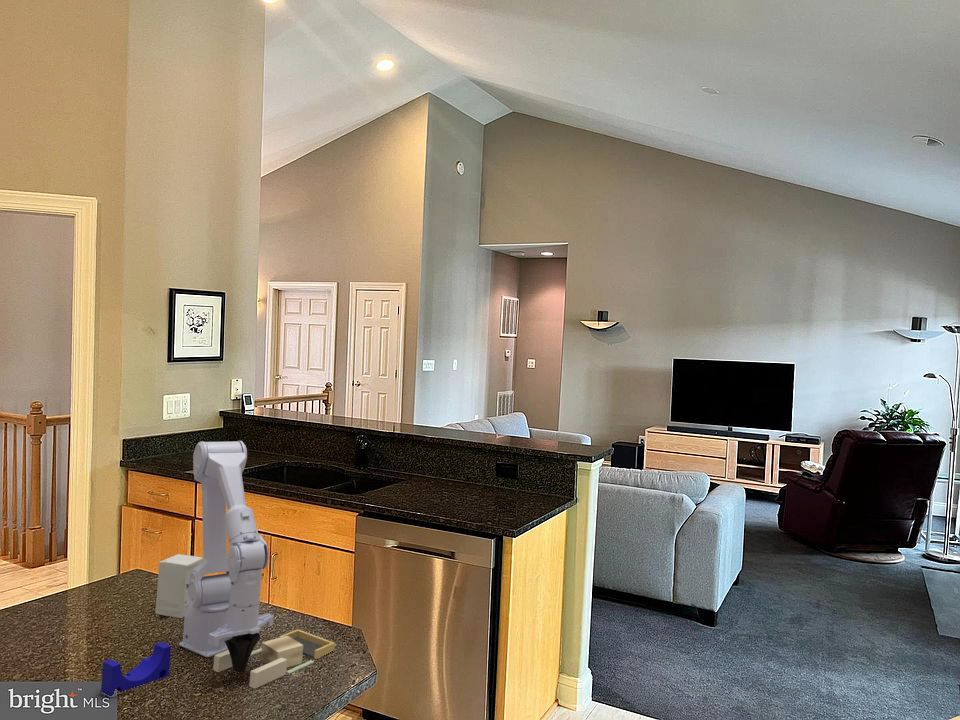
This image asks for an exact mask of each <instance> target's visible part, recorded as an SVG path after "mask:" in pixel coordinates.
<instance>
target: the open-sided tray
mask: <svg viewBox="0 0 960 720" xmlns="http://www.w3.org/2000/svg"><path fill="white" fill-rule="evenodd" d="M285 636H289V637H291V638H292V639H294V640H296V641H297V642H299V643H301V644H302V645H303V656H306V657H309V658H312V659H315V660H317V659H319V658H322V657H325V656H327V655H328V653H329V654H331V653H332V652H331V651H333V650H334V651H335V646H336V643H335V642H333V641H331V640H328V639H325V638H323V637H321V636H318V635H314V634H311V633H309V632H306V631H304V630H301V629H294V630H292V631H290V632H288V633H284V634H282V635H280V636H279V637H278V638H281V637H285ZM334 651H333V652H334ZM330 652H331V653H330ZM326 654H327V655H326ZM324 655H325V656H324Z"/></svg>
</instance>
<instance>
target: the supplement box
mask: <svg viewBox="0 0 960 720" xmlns="http://www.w3.org/2000/svg"><path fill="white" fill-rule="evenodd" d="M202 561H203V557H200V556H195V555H188V554H179V553H178V554H174V555H173V556H170V557H168V558H165V559H163V560H161V561H159V564H158V576H157V588H156V601H155V610H154V611H155V612H154V614H155V615H161V616H166V617H171V618H177V619H184V618H185V613H186V611H187V609H188V607H189V606H190V605H191V604H190V602H189V598H188V586H189V581H190V572H191V571H192V570H193V569H194V568H195V567H196V566H197V565H198V564H199V563H201V562H202Z"/></svg>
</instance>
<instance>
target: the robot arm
mask: <svg viewBox="0 0 960 720" xmlns="http://www.w3.org/2000/svg"><path fill="white" fill-rule="evenodd" d="M192 459H193V461H192V463H193V464H192V466H193V467H192V469H193V477H194V481H196V482H198V483H200V487H201V505H202V507H201V509H202V511H201V512H202V513H201V514H202V517H201V518H202V552H203V553H202V555H203V557H202V558H203V561H202V562H201V563H199V564H198V565H197V566H196V567H195V568H194V569H193V570H192V571H191V572H190V581H189V586H188V598H189V602H190V604H191V605H190V606H189V607H188V609H187V611H186V613H185V616H184V617H183V635H182V641H181V642H179V643H178V645H179V646H180V647H183V648H184V649H186V650H189V651H191V652H192V653H195V654H198V655H200V656H202V657H205V658H210V657H211V658H212V657H213V656H214V655H216V654H219V653H222V652H224V651H227V650H229V653H230V656H231V661H232V666H233V667H232V671H234V672H237V673H239V674H241V673H244V672H245V671H246V669H247V666H248V663H249V658H250V659H251V656H250V655H251V653H252V652H253V651H254V648H255V647H256V645H257V644H258V643H259V641H260V638H261V635H260V632H261V631H260V630H261V628H264V627H266V626H268V627H272V626H273V625H274V621H275V620H274V619H275V617H274V616H275V615H273V614H270V613H268V612H267V613H264V614H260V615H259V613H260V600H261V587H262V586H261V585H262V576H263V575H262V574H263V572H262V571H263V570H264V569H266V567H267V566H268V562H269V550H268V549H269V548H268V544H267V543H266V540H265V539H264V538H263V536H262V534H259V532H258V527H257V523H256V518H255V515H254V510H253V509H252V508H251V507H249V506H247V505H246V504H247V503H246V496H245V489H244V481H243V472H244V470H245V467H246V464H247V460H248V450H247V446H246V444H245V443H244V442H243V440H237V441H234V440H233V441H198V443H197V444H196V446H195V448H194V450H193V456H192ZM227 538H228V539H227ZM228 543H229V544H228ZM228 545H229V548H228ZM217 573H219V574H217ZM220 573H221V574H220ZM208 574H212V575H208Z"/></svg>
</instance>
